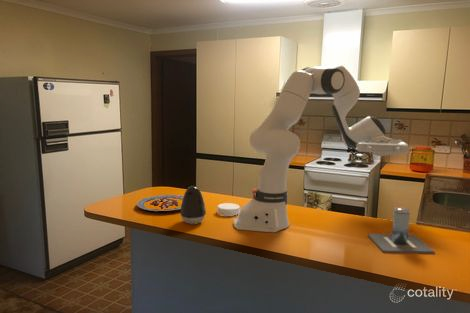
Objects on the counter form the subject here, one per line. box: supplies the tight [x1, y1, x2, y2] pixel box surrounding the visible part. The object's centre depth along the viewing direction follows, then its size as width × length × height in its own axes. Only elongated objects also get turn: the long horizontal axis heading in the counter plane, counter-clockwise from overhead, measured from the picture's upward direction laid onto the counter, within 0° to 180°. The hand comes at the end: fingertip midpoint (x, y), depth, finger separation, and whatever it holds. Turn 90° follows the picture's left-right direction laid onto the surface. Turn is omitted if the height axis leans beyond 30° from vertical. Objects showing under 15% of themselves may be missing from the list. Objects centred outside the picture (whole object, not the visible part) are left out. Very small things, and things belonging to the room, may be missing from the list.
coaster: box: [216, 202, 241, 217], centre depth 161 cm, size 10×10×4 cm
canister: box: [391, 206, 411, 245], centre depth 127 cm, size 5×5×12 cm
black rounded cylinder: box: [180, 185, 207, 225], centre depth 147 cm, size 10×10×15 cm
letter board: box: [367, 233, 436, 255], centre depth 128 cm, size 17×15×1 cm
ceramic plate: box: [136, 194, 184, 212], centre depth 170 cm, size 26×26×3 cm
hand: (384, 150), depth 148 cm, fingers open, 8 cm apart
